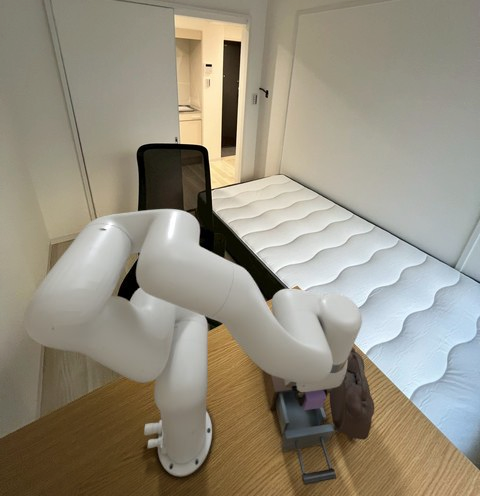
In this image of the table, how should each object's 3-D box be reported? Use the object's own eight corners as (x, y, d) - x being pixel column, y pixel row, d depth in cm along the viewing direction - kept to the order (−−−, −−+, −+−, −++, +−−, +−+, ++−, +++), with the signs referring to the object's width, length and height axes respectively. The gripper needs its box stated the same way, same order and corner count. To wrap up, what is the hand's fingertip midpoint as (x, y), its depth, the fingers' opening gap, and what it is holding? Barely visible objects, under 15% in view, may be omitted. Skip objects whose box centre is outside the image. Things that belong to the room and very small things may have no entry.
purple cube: (296, 386, 57) (299, 376, 56) (314, 384, 58) (317, 374, 56) (303, 410, 54) (307, 400, 52) (322, 407, 54) (326, 397, 52)
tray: (340, 484, 53) (349, 471, 50) (290, 494, 51) (296, 482, 48) (306, 377, 70) (310, 364, 67) (268, 382, 68) (271, 368, 66)
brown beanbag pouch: (362, 456, 57) (391, 415, 49) (331, 446, 58) (353, 404, 50) (350, 384, 70) (371, 341, 62) (324, 377, 71) (341, 334, 63)
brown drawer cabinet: (315, 402, 66) (322, 385, 62) (270, 409, 64) (274, 391, 60) (296, 345, 79) (301, 328, 75) (258, 349, 77) (261, 332, 73)
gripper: (354, 326, 53) (335, 373, 60) (279, 333, 50) (269, 381, 58) (377, 365, 46) (351, 412, 54) (291, 376, 43) (278, 424, 51)
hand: (309, 395), depth 56 cm, fingers closed on purple cube, 4 cm apart
